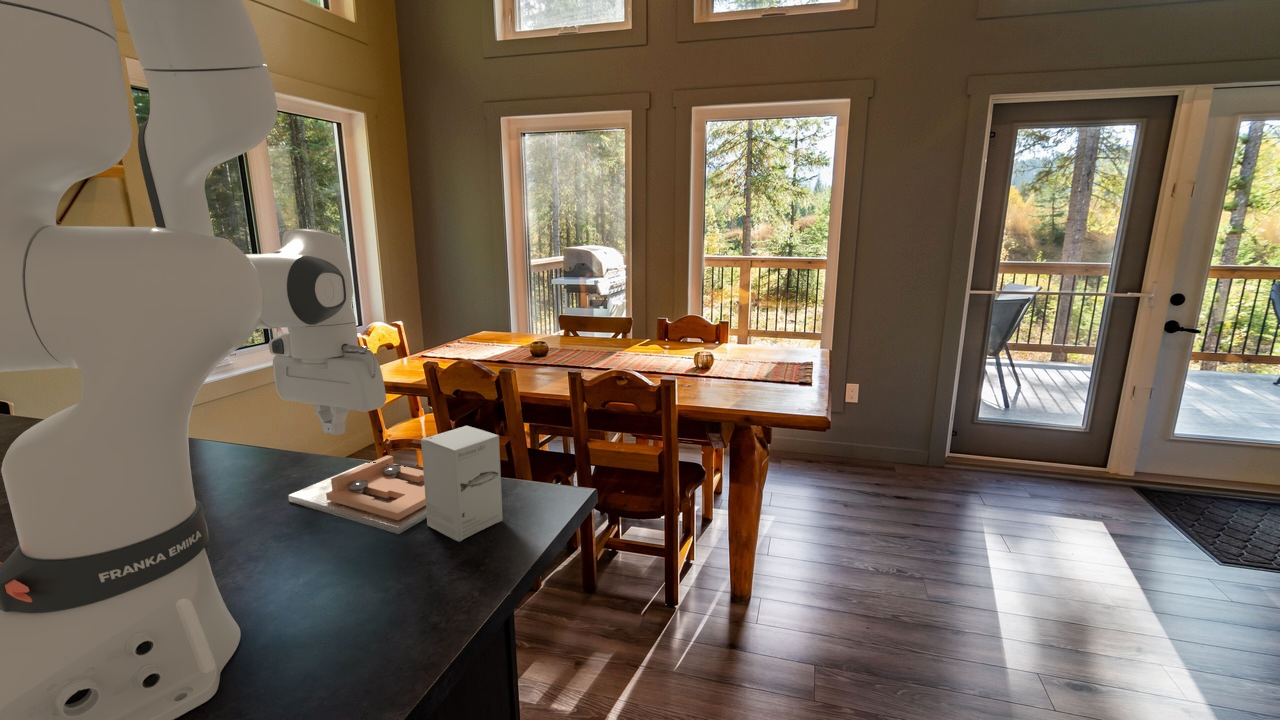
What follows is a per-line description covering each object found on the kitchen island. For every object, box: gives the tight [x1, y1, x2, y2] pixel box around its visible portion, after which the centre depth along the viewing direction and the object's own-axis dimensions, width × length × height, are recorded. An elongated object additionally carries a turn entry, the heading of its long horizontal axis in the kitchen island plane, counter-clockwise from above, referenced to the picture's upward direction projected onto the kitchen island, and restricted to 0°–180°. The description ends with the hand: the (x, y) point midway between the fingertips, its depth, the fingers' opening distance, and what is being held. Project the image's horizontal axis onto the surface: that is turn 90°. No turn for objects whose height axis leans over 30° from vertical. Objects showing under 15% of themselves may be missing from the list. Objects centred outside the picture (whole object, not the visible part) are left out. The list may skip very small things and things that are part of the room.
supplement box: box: [420, 425, 504, 543], centre depth 76 cm, size 7×7×13 cm
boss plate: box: [287, 462, 427, 535], centre depth 85 cm, size 14×22×3 cm, turn 65°
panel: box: [326, 455, 426, 520], centre depth 84 cm, size 12×14×3 cm
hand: (334, 433), depth 86 cm, fingers closed
